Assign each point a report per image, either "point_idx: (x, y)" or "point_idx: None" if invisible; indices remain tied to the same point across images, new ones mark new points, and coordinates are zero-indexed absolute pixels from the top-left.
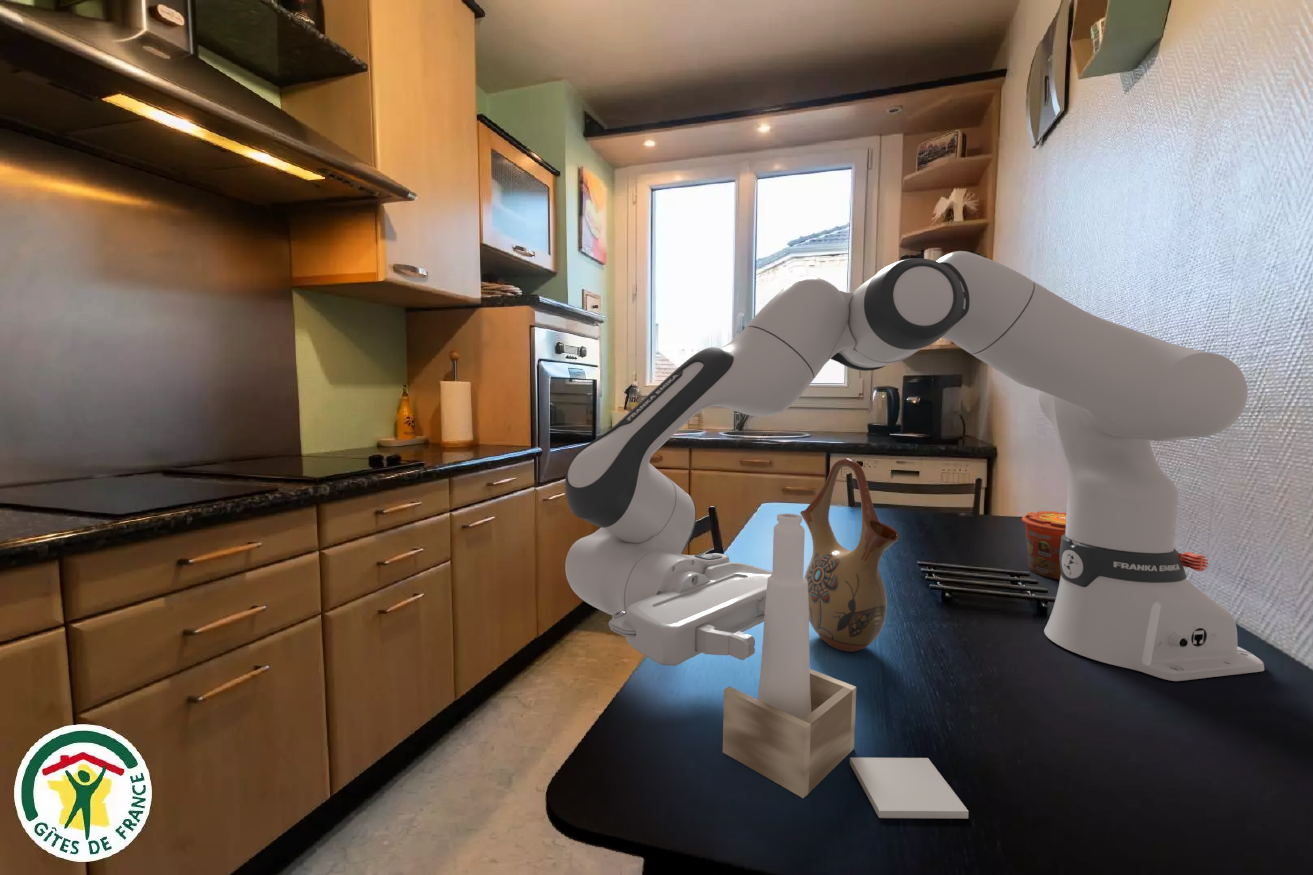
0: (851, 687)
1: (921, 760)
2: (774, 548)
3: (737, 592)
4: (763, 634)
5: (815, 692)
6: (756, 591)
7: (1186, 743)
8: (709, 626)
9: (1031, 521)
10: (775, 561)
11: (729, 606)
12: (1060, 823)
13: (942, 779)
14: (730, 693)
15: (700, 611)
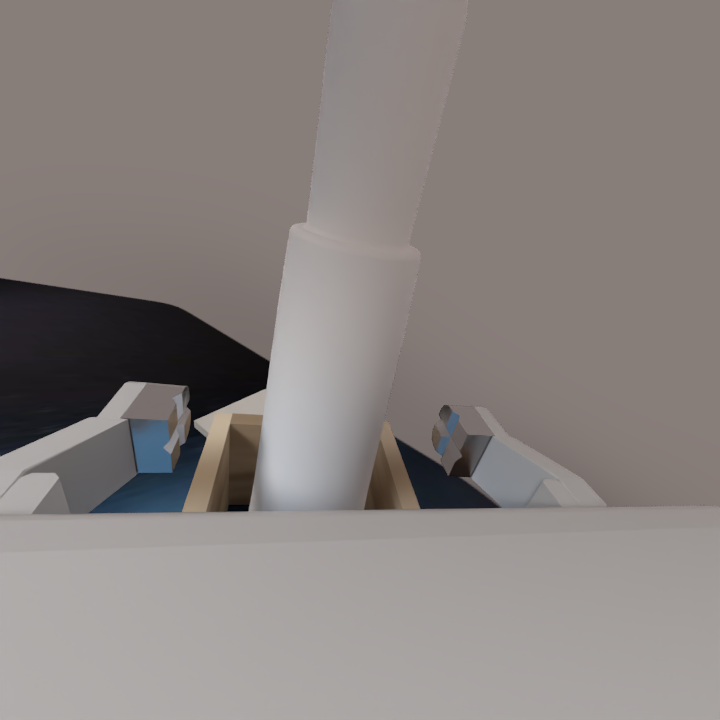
0: (223, 416)
1: (205, 423)
2: (441, 113)
3: (235, 607)
4: (375, 428)
5: (217, 496)
6: (111, 529)
7: (7, 307)
8: (564, 494)
9: None
10: (426, 173)
11: (431, 510)
12: (220, 360)
13: (229, 406)
14: None
15: (615, 542)
